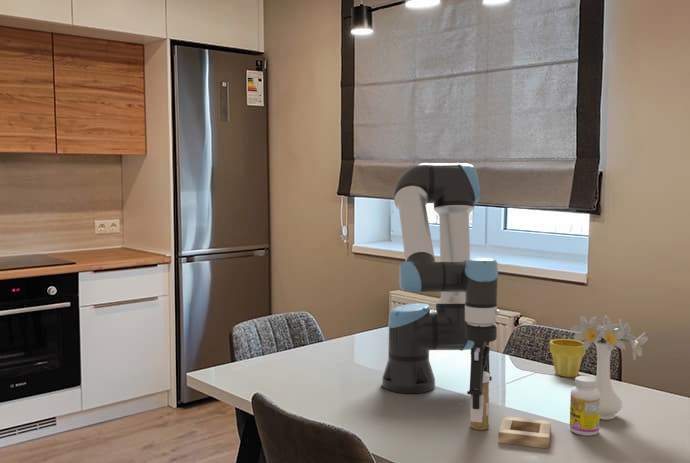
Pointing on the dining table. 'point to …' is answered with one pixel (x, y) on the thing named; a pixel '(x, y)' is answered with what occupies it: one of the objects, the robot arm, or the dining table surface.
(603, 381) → the flower vase
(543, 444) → the socket block
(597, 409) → the supplement bottle
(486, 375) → the sprinkles bottle
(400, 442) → the dining table surface
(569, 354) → the plant pot
